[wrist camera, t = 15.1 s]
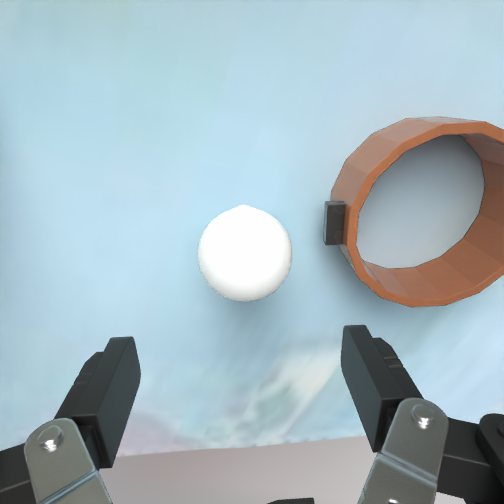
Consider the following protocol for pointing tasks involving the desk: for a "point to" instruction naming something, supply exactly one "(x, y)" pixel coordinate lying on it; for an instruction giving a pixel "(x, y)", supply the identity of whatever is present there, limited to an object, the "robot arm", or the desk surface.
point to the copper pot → (455, 259)
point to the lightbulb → (244, 254)
